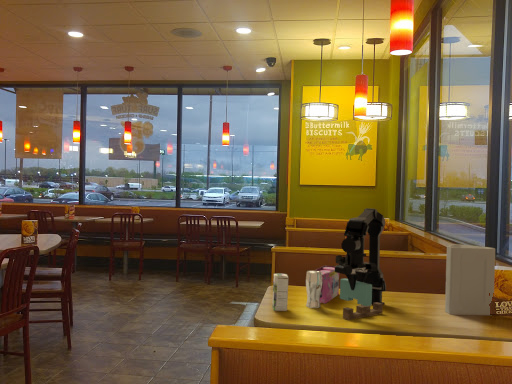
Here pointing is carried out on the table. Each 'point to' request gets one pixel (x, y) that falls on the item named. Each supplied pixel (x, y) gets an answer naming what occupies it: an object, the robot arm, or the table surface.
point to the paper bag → (469, 279)
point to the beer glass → (313, 288)
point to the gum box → (328, 283)
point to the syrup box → (280, 292)
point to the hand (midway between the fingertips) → (355, 289)
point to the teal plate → (356, 292)
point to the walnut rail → (362, 311)
